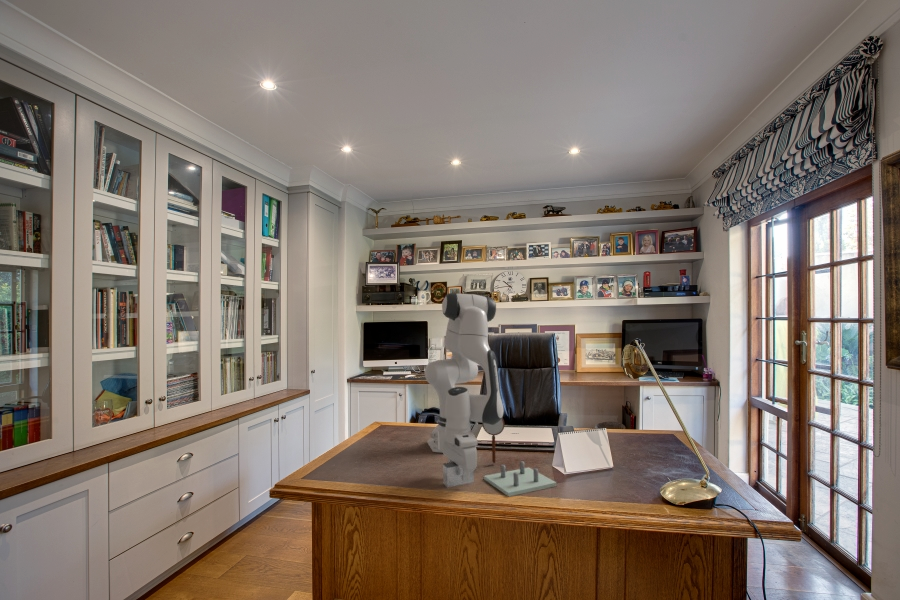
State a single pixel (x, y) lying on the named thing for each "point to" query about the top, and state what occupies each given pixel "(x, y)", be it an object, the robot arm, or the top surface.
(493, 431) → the magnifying glass
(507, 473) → the pin tray
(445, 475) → the block
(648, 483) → the top surface
